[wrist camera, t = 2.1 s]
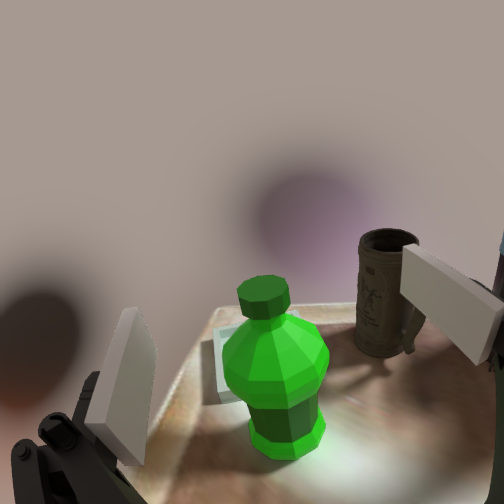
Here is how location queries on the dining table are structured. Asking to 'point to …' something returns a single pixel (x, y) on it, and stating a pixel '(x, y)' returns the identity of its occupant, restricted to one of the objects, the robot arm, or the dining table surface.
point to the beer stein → (384, 296)
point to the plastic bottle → (276, 370)
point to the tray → (219, 340)
